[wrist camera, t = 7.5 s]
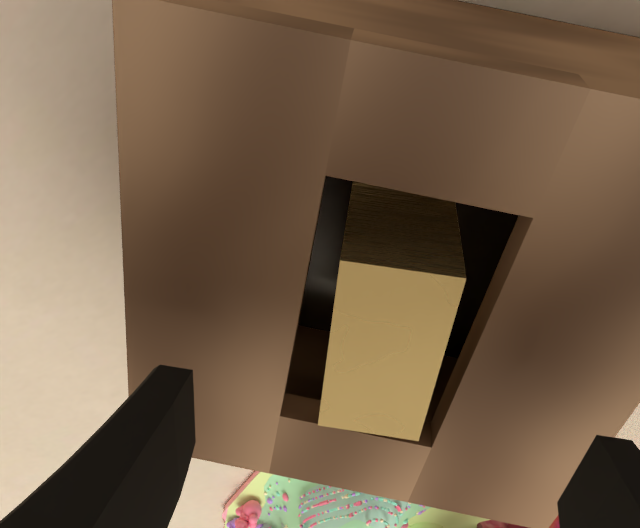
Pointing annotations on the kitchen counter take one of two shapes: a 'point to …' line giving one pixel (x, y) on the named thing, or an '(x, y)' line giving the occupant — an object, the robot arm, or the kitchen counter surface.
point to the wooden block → (391, 311)
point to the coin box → (394, 173)
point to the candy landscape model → (334, 508)
